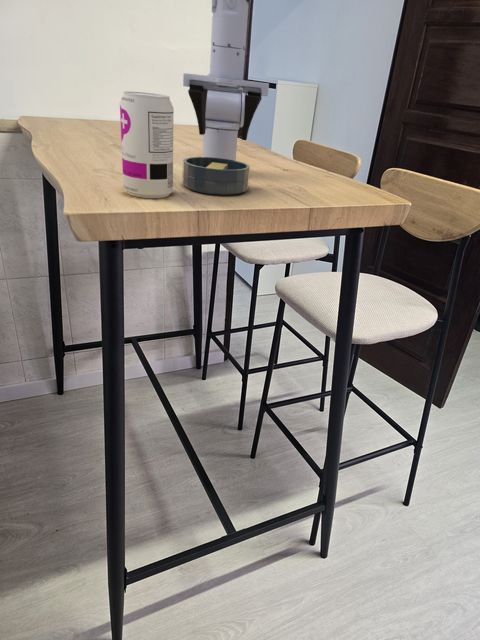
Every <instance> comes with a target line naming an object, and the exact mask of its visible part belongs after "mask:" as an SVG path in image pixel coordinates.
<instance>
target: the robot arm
mask: <svg viewBox="0 0 480 640" xmlns="http://www.w3.org/2000/svg"><path fill="white" fill-rule="evenodd" d="M251 1H252V0H211V13H212V17H211V34H210V35H211V37H210V57H209V58H210V59H209V61H210V62H209V73H208V74H207V75H204V74H195V73H186V72H184V73H183V74H182V75H183V76H182V77H183V79H182V85H183V87H188V90H187V92H188V96H189V98H190V101H191V104H192V106H193V109H194V112H195V116H196V120H197V126H198V134H199V135H201V136H202V152H201V153H202V154H201V157H215V158H224V159H230V160H235V161H237V150H238V135H239V130H240V128H242V131H241V132H242V133H241V140H242V141H246V140H247V139H248V134H249V130H250V127H251V123H252V121H253V118H254V115H255V113H256V111H257V109H258V107H259V105H260V103H261V101H262V97H268V96H269V90H270V89H269V87H270V83H268V82H260V81H254V80H253V81H252V80H245V79H244V76H245V75H244V74H245V62H246V61H245V60H246V47H247V31H248V30H247V29H248V19H249V6H250V5H249V4H251Z"/></svg>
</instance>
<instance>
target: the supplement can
mask: <svg viewBox="0 0 480 640" xmlns="http://www.w3.org/2000/svg"><path fill="white" fill-rule="evenodd" d="M170 98H171V97H170V96H169V95H166V94H160V93H153V92H152V93H151V92H145V91H144V92H143V91H130V90H129V91H128V90H127V91H123V95H122V97H121V99H120V102H119V115H120V116H119V117H120V118H119V119H120V120H119V121H120V139H121V140H120V141H121V143H120V144H121V158H122V159H121V164H122V165H121V166H122V167H121V168H122V187H123V189H124V190H125V191H126V193H127V194H128V195H130V196H133V197H136V198H137V197H138V198H143V199H162V198H163V199H164V198H167V197H168V196H169V197H170V194H171V193H173V192H174V106H173V103H172V102H171V99H170Z"/></svg>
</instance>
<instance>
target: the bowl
mask: <svg viewBox="0 0 480 640" xmlns="http://www.w3.org/2000/svg"><path fill="white" fill-rule="evenodd" d="M212 162H215V163H223V164H228V168H227V170H225V169H213V168H206V167H207V166H208V165H210V164H211V163H212ZM250 171H251V166H250V165H249V164H248V163H247V162H246V163H245V162H243V161H239V160H236V161H235V160H230V159H224V158H215V157H202V156H192V157H191V156H190V157H185V158H183V159H182V180H181V181H182V185H183V186H184V187H186V188H187V189H189V190H191V191H192V192H193V191H194V192H196V193H201V194H206V195H213V196H236V195H239V194H243V193H245V192H247V191H248V189H249V184H250V173H251V172H250Z"/></svg>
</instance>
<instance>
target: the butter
mask: <svg viewBox="0 0 480 640" xmlns="http://www.w3.org/2000/svg"><path fill="white" fill-rule="evenodd" d="M206 168H213V169H225V170H227V168H228V164H223V163H215V162H212V163H211V164H210V165H208V166H207V167H206Z"/></svg>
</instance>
